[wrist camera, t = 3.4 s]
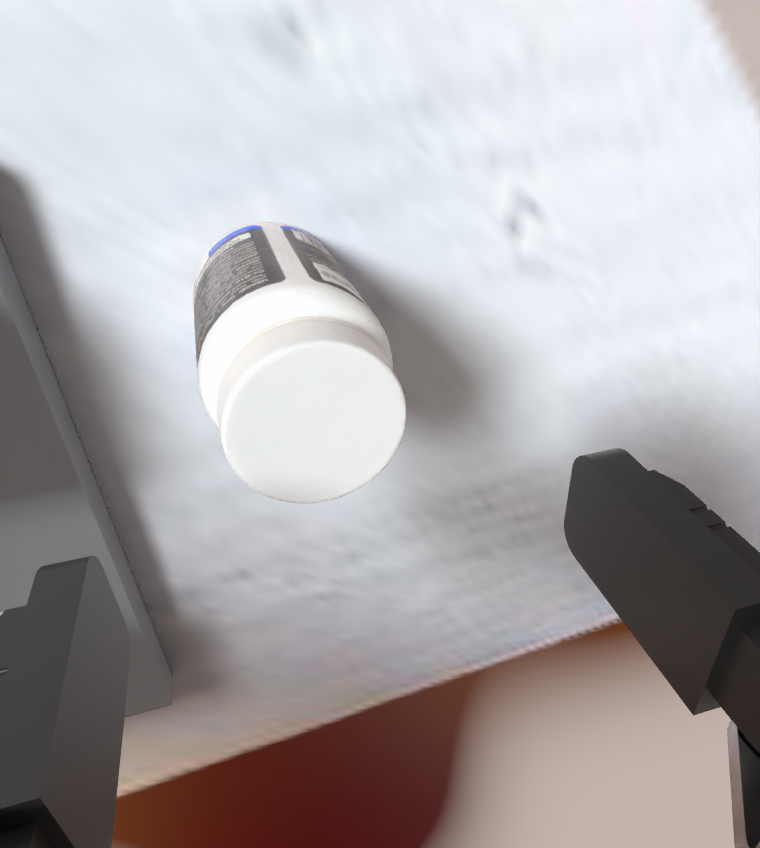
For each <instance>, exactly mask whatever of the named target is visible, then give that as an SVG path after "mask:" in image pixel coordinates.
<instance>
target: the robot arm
mask: <svg viewBox="0 0 760 848" xmlns="http://www.w3.org/2000/svg"><path fill="white" fill-rule="evenodd" d="M706 506H707V505H705V504H704V503H703V502H702V501H701V500H700V499H699V498H698V497H696V496H695V495H694V494H693V493H692V492H691V491H690V490H689V489H688V488H686V487H685V486H684V485H682V484H680V483H678V482H676V481H674V480H673V479H671V478H669V477H667V476H665V475H663V474H661V473H659V472H657V471H655V470H652V471H647V470H646V469H645V468H644V467H643V466H642V465H641V464H640V463H639V462H637V461H636V460H635V459H634V458H633V457H632V456H631V455H630V454H629V453H628V452H626V451H625V450H623V449H620V448H616V449H611V450H607V451H602V452H597V453H592V454H587V455H583V456H579V457H577V458H576V460H575V461H574V464H573V468H572V474H571V481H570V487H569V494H568V500H567V507H566V513H565V520H564V530H565V536H566V540H567V543H568V545H569V548H570V550H571V552H572V554H573V555H574V557H575V558H576V559H577V561H578V562H579V563H580V565H581V566H582V567H583V569H584V570H585V571H586V573H587V574H588V575H589V577H590V578H591V579H592V581H593V582H594V583H595V585H596V586H597V587H598V589H599V590H600V591H601V593H602V594H603V595H604V597H605V598H606V599H607V601H608V602H609V603H610V605H611V606H612V607H613V609H614V610H615V611H616V613H617V614H618V615H619V617H620V618H621V619H622V621H623V622H624V623H625V624H626V626H627V627H628V629H629V630H630V631H631V633H632V634H633V635H634V637H635V638H636V639H637V641H638V642H639V643H640V645H641V646H642V647H643V649H644V650H645V651H646V653H647V654H648V655H649V657H650V658H651V659H652V661H653V662H654V663H655V665H656V666H657V667H658V669H659V670H660V671H661V673H662V674H663V675H664V677H665V678H666V679H667V681H668V682H669V683H670V685H671V686H672V687H673V689H674V690H675V691H676V693H677V694H678V695H679V697H680V698H681V699H682V701H683V702H684V703H685V705H686V706H687V707H688V709H689V710H690V711H691V713H692V714H693V715H696V714H699V713H702V712H705V711H709V710H712V709H715V708H719V707H722V709H723V710H724V711H725V712H726V714H727V715H728V716H729V717H730V719H731V721H730V723H729V727H728V735H727V736H728V749H729V750H728V752H729V766H730V782H731V797H732V811H733V812H732V813H733V828H734V843H735V848H760V553H759V552H758V551H757V550H756V549H755V548H754V547H753V546H751V545H750V544H749V543H748V542H747V541H746V540H745V539H744V538H743V537H741V536H740V535H739V534H738V533H737V532H736V531H735V530H734V529H732V528H731V527H727V526H726V525H725V521H723V520H722V519H721V518H720V517H719V516H718V515H717V514H716V513H714V512H713V511H712V510H708V509H707V507H706ZM129 666H130V643H129V636H128V630H127V626H126V623H125V620H124V617H123V615H122V613H121V610H120V608H119V605H118V603H117V601H116V598H115V596H114V593H113V591H112V588H111V586H110V584H109V581H108V579H107V576H106V574H105V572H104V569H103V567H102V565H101V562H100V561H99V559H98V558H97V557H96V556H88V557H83V558H79V559H74V560H69V561H64V562H59V563H55V564H50V565H45V566H42V567H40V568H39V569H38V571H37V572H36V575H35V578H34V582H33V585H32V588H31V592H30V595H29V598H28V602H27V605H25V606H21V607H16V608H11V609H7V610H5V611H4V612H3V613H2V614H1V616H0V848H111V844H112V834H113V825H114V815H115V805H116V795H117V785H118V775H119V765H120V756H121V746H122V736H123V726H124V716H125V706H126V696H127V686H128V676H129Z"/></svg>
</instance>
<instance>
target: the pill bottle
mask: <svg viewBox="0 0 760 848" xmlns="http://www.w3.org/2000/svg"><path fill="white" fill-rule="evenodd" d="M193 305H194V317H195V318H194V322H195V342H196V358H197V376H198V387H199V392H200V396H201V399H202V402H203V405H204V407H205V409H206V411H207V413H208V415H209V417H210V419H211V421H212V422H213V423H214V425H215V426H216V427H217V429H218V430H219V431H220V438H221V442H222V447H223V450H224V453H225V456H226V458H227V460H228V462H229V464H230V465H231V467H232V468H233V470H234V471H235V473H236V474H237V475H238V476H239V477H240V478H241V479H242V480H243V481H244V482H245V483H246V484H247V485H248V486H250V487H251V488H253V489H254V490H256V491H257V492H259V493H261V494H263V495H266V496H268V497H270V498H273V499H277V500H280V501H286V502H292V503H317V502H322V501H327V500H332V499H335V498H339V497H342V496H344V495H346V494H348V493H351V492H353V491H354V490H356V489H358V488H360V487H362V486H363V485H365V484H366V483H368V482H369V481H371V480H372V479H373V478H374V477H375V476H377V475H378V474H379V473H380V472H381V471H382V470H383V469H384V468H385V467H386V465H387V464H388V463H389V461H390V460H391V458H392V457H393V455H394V454H395V452H396V450H397V449H398V447H399V445H400V442H401V440H402V437H403V434H404V431H405V425H406V401H405V396H404V391H403V389H402V386H401V384H400V382H399V380H398V378H397V376H396V375H395V373H394V371H393V360H392V353H391V348H390V344H389V341H388V338H387V335H386V332H385V330H384V328H383V326H382V324H381V323H380V322H379V320H378V318H377V317H376V316H375V314H374V313H373V312H372V310H371V309H370V308H369V306H368V305H367V303H366V302H365V301H364V300H363V298H362V297H361V295H360V294H359V293H358V291H357V290H356V289H355V287H354V286H353V285H352V283H351V282H350V281H349V280H348V278H347V277H346V275H345V274H344V272H343V271H342V269H341V268H340V266H339V265H338V264H337V262H336V261H335V259H334V258H333V256H332V255H331V254H330V253H329V251H328V250H327V249H326V248H325V247H324V246H323V245H322V244H321V243H320V242H319V241H318V240H317V239H316V238H314V237H313V236H312V235H310V234H309V233H307V232H305V231H303V230H301V229H299V228H296V227H293V226H290V225H286V224H281V223H274V222H260V223H252V224H247V225H244V226H241V227H239V228H236V229H234V230H232V231H230V232H228V233H227V234H225V235H224V236H223V237H221V238H220V239H219V240H218V241H217V242H215V243H214V244H213V246H212V247H211V248H210V249H209V250H208V251H207V253H206V254H205V255H204V257H203V259H202V261H201V263H200V265H199V267H198V270H197V273H196V277H195V281H194V289H193Z"/></svg>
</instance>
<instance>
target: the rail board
mask: <svg viewBox="0 0 760 848" xmlns="http://www.w3.org/2000/svg"><path fill="white" fill-rule="evenodd" d="M88 556H96V557H97V558H98V559H99V561H100V562H101V565H102V567H103V569H104V572H105V574H106V576H107V579H108V581H109V584H110V586H111V588H112V591H113V593H114V596H115V598H116V601H117V603H118V605H119V608H120V610H121V613H122V615H123V617H124V620H125V623H126V626H127V630H128V636H129V643H130V666H129V676H128V686H127V696H126V706H125V716H124V717H128V716H131V715H135V714H139V713H143V712H146V711H150V710H154V709H158V708H161V707H165V706H169V705H172V673H171V671H170V668H169V666H168V663H167V661H166V658H165V656H164V653H163V650H162V648H161V645H160V643H159V640H158V638H157V635H156V633H155V630H154V627H153V625H152V622H151V620H150V617H149V615H148V612H147V610H146V607H145V604H144V602H143V599H142V597H141V594H140V592H139V589H138V586H137V584H136V581H135V579H134V576H133V574H132V571H131V569H130V566H129V563H128V561H127V558H126V556H125V553H124V551H123V548H122V546H121V543H120V540H119V538H118V535H117V533H116V530H115V528H114V525H113V523H112V520H111V517H110V515H109V512H108V510H107V507H106V505H105V502H104V500H103V497H102V494H101V492H100V489H99V487H98V484H97V482H96V479H95V476H94V474H93V471H92V469H91V466H90V464H89V461H88V459H87V456H86V453H85V451H84V448H83V446H82V443H81V441H80V438H79V436H78V433H77V430H76V428H75V425H74V423H73V420H72V418H71V415H70V413H69V410H68V407H67V405H66V402H65V400H64V397H63V395H62V392H61V390H60V387H59V384H58V382H57V379H56V377H55V374H54V372H53V369H52V367H51V364H50V361H49V359H48V356H47V354H46V351H45V349H44V346H43V343H42V341H41V338H40V336H39V333H38V331H37V328H36V326H35V323H34V320H33V318H32V315H31V313H30V310H29V308H28V305H27V303H26V300H25V297H24V295H23V292H22V290H21V287H20V285H19V282H18V280H17V277H16V274H15V272H14V269H13V267H12V264H11V262H10V259H9V257H8V254H7V251H6V249H5V246H4V244H3V241H2V239H1V236H0V616H1V614H2V613H3V612H4V611H5V610H7V609H11V608H16V607H21V606H25V605H27V602H28V598H29V595H30V592H31V588H32V585H33V582H34V578H35V575H36V572H37V571H38V569H39V568H40V567H42V566H45V565H50V564H55V563H59V562H64V561H69V560H74V559H79V558H83V557H88Z"/></svg>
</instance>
